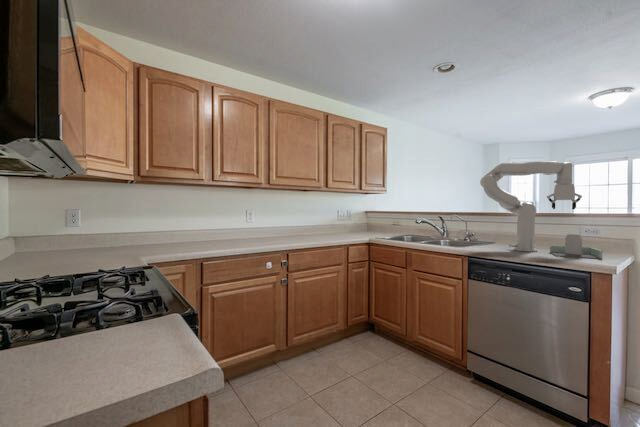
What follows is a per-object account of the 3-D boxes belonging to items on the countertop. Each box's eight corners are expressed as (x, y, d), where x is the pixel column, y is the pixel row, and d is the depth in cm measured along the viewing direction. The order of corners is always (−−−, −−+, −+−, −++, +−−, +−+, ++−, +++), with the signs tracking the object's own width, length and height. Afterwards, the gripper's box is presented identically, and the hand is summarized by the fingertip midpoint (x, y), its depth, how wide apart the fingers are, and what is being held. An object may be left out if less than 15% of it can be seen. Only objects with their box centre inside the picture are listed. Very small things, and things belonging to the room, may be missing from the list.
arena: (556, 256, 171) (556, 248, 171) (549, 252, 185) (550, 245, 185) (602, 259, 161) (602, 250, 161) (591, 255, 176) (592, 247, 176)
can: (580, 254, 174) (581, 234, 173) (583, 256, 167) (583, 235, 167) (564, 253, 178) (564, 233, 178) (565, 255, 172) (566, 234, 171)
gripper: (548, 182, 189) (547, 209, 189) (583, 181, 180) (583, 209, 180) (546, 183, 195) (545, 209, 196) (580, 182, 186) (580, 209, 187)
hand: (563, 209), depth 188 cm, fingers open, 9 cm apart
